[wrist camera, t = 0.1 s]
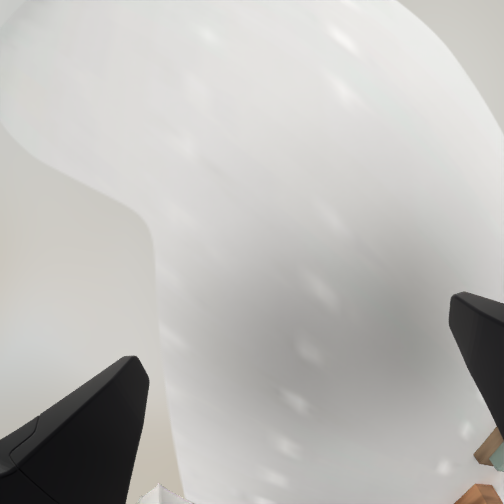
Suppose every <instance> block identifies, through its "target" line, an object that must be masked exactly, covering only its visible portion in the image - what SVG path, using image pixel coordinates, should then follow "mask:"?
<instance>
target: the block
mask: <svg viewBox="0 0 504 504" xmlns="http://www.w3.org/2000/svg"><path fill="white" fill-rule="evenodd" d="M454 504H503V502H502V501H501V499H500V497H499V496H498V494H497V493H496V491H495V489H494V488H493V486H492V485H483V484H474V485H473V486H472V487H471V488H470V489H469V490H468V491H467V492H466V493H465V494H464V495H463V496H462V497H461V498H460V499H459V500H458V501H456V502H455V503H454Z"/></svg>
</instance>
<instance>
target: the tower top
mask: <svg viewBox="0 0 504 504" xmlns="http://www.w3.org/2000/svg"><path fill="white" fill-rule="evenodd" d="M489 460H490V461H491V463H492V464H493V465H494V467H495V468H496V470H497V471H502V472H504V441H503V443H502V444H501V445H500V446H499V447H498V449H497V450H496V451H495V452H494V453H493V454H492V456H491V457H490V458H489Z"/></svg>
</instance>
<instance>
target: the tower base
mask: <svg viewBox="0 0 504 504" xmlns="http://www.w3.org/2000/svg"><path fill="white" fill-rule="evenodd" d="M502 443H503V438H502V436H501V434H500V432H499V429H498V427H496V428H495V429H494V431H493V432H492V433H491V434H490V436H489V437H488V438H487V439H486V441H485V442H484V443H483V444H482V445H481V446H480V448H479V449H478V450H477V451H476V452H475V453H474V454H473V455H474V456H475V458H476V459H477V461H478V462H479V464H484V465H489V466H494V465H493V464H492V463H491V461H490V460H489V458H490V457H491V456H492V454H493V453H494V452H495V451H496V450H497V449H498V447H499V446H500V445H501V444H502Z"/></svg>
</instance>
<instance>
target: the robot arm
mask: <svg viewBox="0 0 504 504" xmlns="http://www.w3.org/2000/svg"><path fill="white" fill-rule="evenodd" d="M449 326H450V329H451V331H452V334H453V336H454V338H455V340H456V342H457V345H458V347H459V349H460V351H461V354H462V356H463V359H464V361H465V363H466V365H467V368H468V370H469V372H470V374H471V376H472V377H473V379H474V381H475V383H476V385H477V387H478V389H479V391H480V392H481V394H482V396H483V398H484V400H485V402H486V404H487V406H488V408H489V410H490V412H491V415H492V417H493V419H494V421H495V423H496V425H497V427H498V429H499V432H500V434H501V436H502V438H503V441H504V304H503V303H500V302H497V301H494V300H491V299H487V298H484V297H481V296H478V295H474V294H471V293H468V292H460V293H457V294H454V295H453V296H452V297H451V301H450V312H449ZM148 390H149V377H148V375H147V373H146V371H145V369H144V368H143V366H142V364H141V362H140V360H139V358H138V357H136V356H124V357H122V358H121V359H119V360H118V361H116V362H115V363H113V364H112V365H111V366H109V367H108V368H106V369H105V370H104V371H102V372H101V373H99V374H98V375H96V376H95V377H93V378H92V379H91V380H89V381H88V382H86V383H85V384H83V385H82V386H81V387H79V388H78V389H76V390H75V391H73V392H72V393H70V394H69V395H68V396H66V397H65V398H63V399H62V400H60V401H59V402H57V403H56V404H55V405H53V406H52V407H50V408H49V409H47V410H46V411H44V412H43V413H41V414H40V416H37V417H36V418H34V419H33V420H31V421H30V422H28V423H27V424H25V425H24V426H22V427H20V428H19V429H17V430H16V431H14V432H12V433H11V434H9V435H8V436H6V437H4V438H2V439H1V440H0V504H126V499H127V494H128V490H129V485H130V480H131V476H132V471H133V467H134V462H135V458H136V454H137V450H138V445H139V441H140V436H141V433H142V429H143V424H144V416H145V410H146V403H147V396H148Z"/></svg>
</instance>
